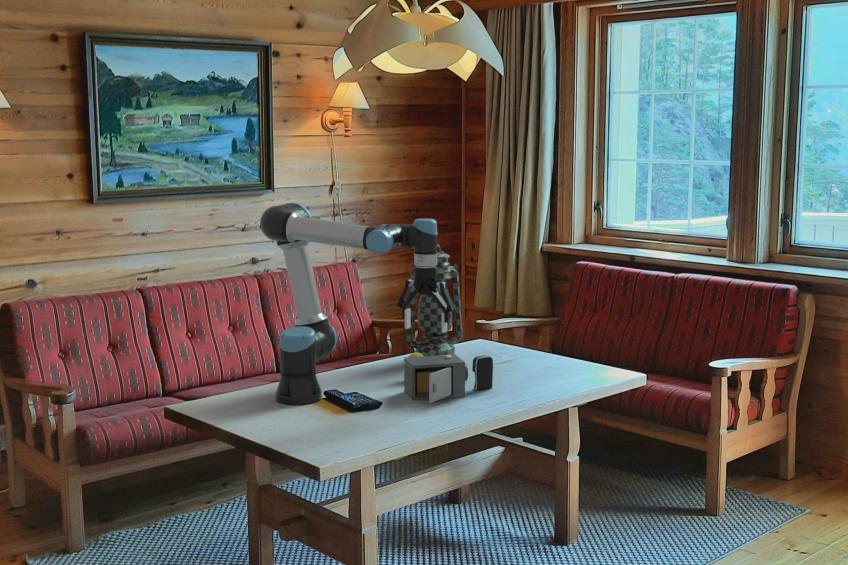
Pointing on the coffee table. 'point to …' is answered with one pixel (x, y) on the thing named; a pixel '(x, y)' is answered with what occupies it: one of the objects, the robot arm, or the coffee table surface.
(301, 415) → the coffee table surface
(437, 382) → the cabinet door
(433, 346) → the lantern
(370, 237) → the robot arm
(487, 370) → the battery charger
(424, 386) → the small grey cabinet
